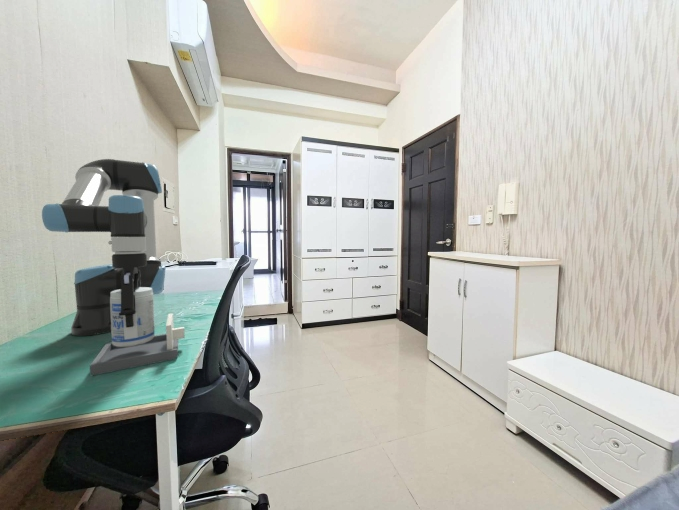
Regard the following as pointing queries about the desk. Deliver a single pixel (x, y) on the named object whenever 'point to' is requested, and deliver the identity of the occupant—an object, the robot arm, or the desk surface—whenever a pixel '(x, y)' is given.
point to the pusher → (173, 332)
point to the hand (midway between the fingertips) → (134, 332)
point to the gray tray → (133, 355)
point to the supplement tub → (144, 317)
